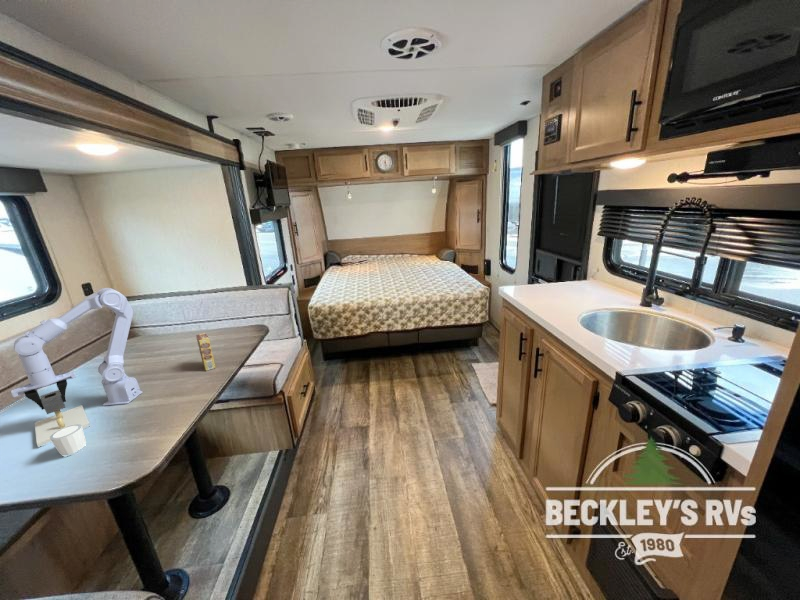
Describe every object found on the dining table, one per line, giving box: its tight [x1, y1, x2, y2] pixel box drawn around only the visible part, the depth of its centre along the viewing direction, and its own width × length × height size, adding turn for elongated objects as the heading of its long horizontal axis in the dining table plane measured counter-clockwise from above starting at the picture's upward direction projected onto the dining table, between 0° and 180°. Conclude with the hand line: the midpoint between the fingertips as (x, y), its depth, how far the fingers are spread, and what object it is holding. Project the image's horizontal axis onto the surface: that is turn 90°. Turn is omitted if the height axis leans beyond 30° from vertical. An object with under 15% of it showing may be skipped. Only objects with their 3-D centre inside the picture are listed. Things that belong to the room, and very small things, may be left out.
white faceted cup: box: [50, 424, 87, 456], centre depth 94 cm, size 7×7×7 cm
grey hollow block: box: [40, 389, 66, 415], centre depth 107 cm, size 6×4×5 cm
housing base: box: [34, 405, 91, 448], centre depth 107 cm, size 18×12×5 cm, turn 51°
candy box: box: [195, 332, 216, 371], centre depth 142 cm, size 9×4×15 cm, turn 39°
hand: (54, 404), depth 108 cm, fingers closed on grey hollow block, 4 cm apart
